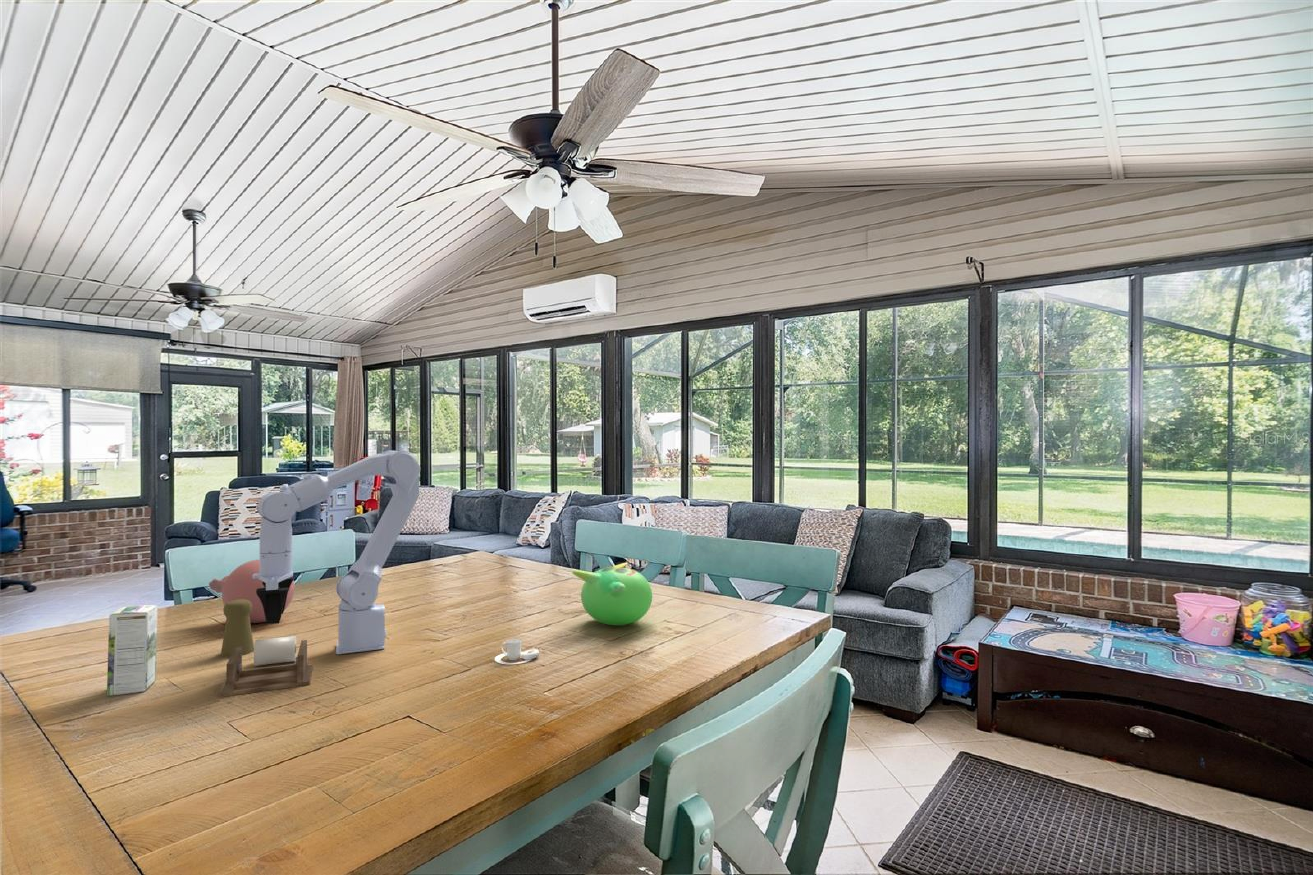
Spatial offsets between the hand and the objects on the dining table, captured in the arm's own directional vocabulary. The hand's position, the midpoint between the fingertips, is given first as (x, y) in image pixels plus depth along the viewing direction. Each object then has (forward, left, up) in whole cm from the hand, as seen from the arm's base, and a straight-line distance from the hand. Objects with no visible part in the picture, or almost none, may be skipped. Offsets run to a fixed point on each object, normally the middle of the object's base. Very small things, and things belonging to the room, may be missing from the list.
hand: (275, 618), depth 132 cm
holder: (0, +11, -9) cm, 14 cm away
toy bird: (-73, +2, -9) cm, 74 cm away
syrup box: (+22, +5, -9) cm, 24 cm away
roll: (0, 0, -9) cm, 9 cm away
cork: (+8, -11, -9) cm, 16 cm away
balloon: (+9, -37, -9) cm, 39 cm away
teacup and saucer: (-45, +20, -10) cm, 50 cm away
